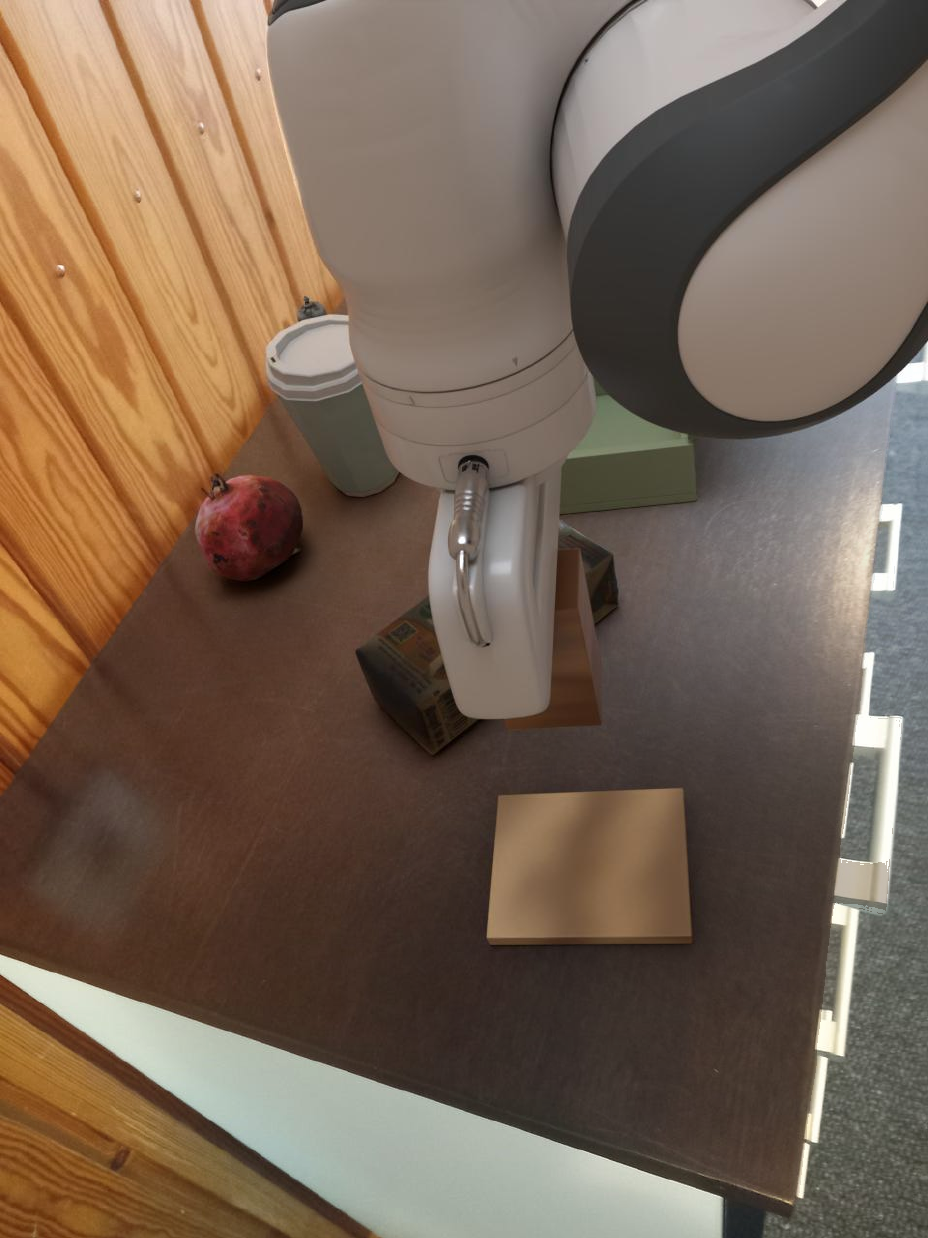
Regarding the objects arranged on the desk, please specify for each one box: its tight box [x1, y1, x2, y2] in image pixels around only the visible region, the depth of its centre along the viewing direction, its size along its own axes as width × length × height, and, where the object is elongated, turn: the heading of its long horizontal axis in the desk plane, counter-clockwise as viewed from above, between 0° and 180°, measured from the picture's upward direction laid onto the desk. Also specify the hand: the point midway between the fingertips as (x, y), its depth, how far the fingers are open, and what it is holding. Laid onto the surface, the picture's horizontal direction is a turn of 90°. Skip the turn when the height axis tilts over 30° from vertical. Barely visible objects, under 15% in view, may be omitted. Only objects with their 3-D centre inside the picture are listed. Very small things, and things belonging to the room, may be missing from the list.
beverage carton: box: [354, 518, 620, 756], centre depth 75 cm, size 8×19×7 cm, turn 130°
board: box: [486, 787, 694, 946], centre depth 64 cm, size 12×10×1 cm
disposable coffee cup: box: [264, 313, 400, 498], centre depth 91 cm, size 11×11×15 cm
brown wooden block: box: [503, 548, 603, 731], centre depth 52 cm, size 5×4×9 cm
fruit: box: [194, 471, 304, 582], centre depth 88 cm, size 9×10×10 cm
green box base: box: [559, 377, 698, 516], centre depth 89 cm, size 15×16×6 cm
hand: (537, 620), depth 51 cm, fingers closed on brown wooden block, 4 cm apart
